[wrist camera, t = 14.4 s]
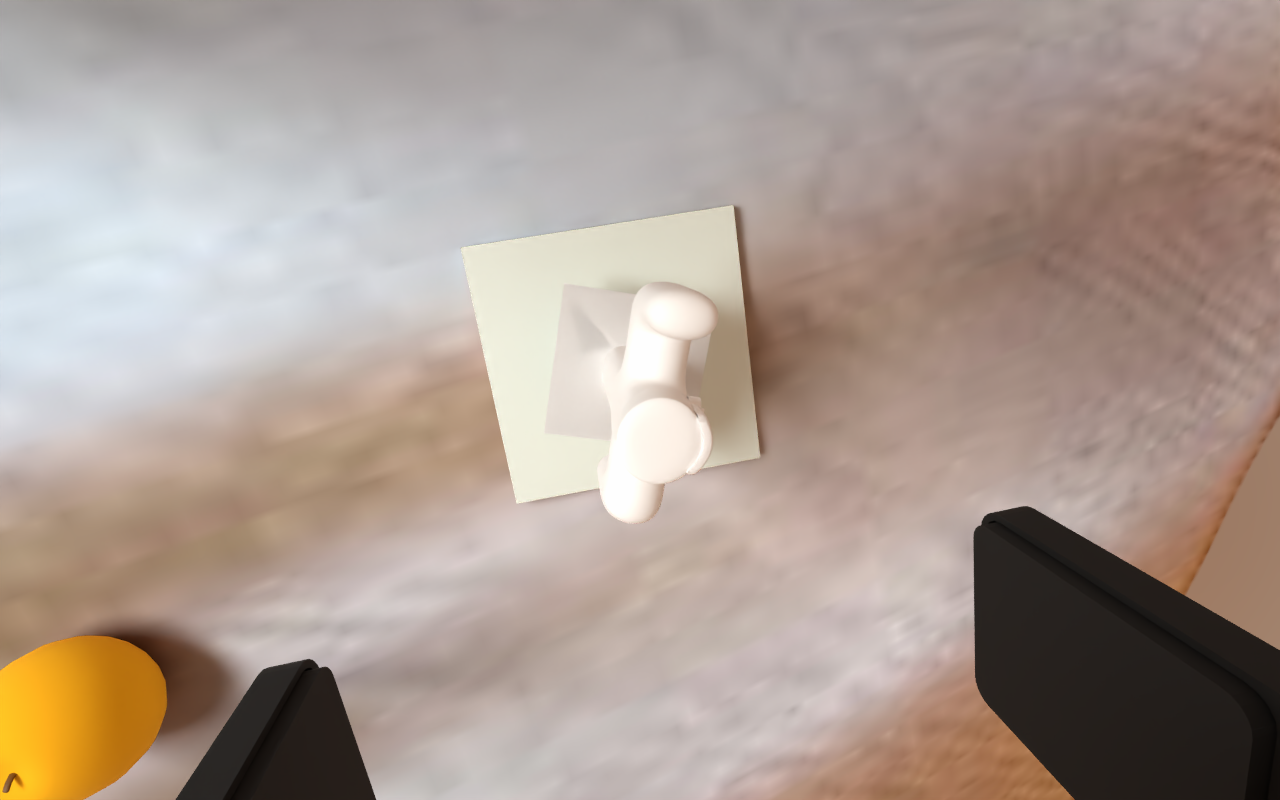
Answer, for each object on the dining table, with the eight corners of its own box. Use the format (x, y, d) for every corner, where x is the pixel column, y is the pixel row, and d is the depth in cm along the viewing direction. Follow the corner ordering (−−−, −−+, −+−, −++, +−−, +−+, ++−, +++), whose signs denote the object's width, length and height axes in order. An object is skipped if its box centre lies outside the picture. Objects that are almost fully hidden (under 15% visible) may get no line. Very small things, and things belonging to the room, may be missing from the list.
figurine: (542, 432, 34) (531, 573, 20) (566, 256, 32) (572, 272, 18) (672, 447, 36) (749, 591, 21) (703, 278, 33) (812, 310, 19)
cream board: (462, 247, 32) (460, 247, 32) (729, 205, 34) (733, 205, 33) (517, 497, 36) (516, 503, 35) (756, 453, 37) (760, 457, 36)
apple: (175, 606, 35) (77, 700, 28) (204, 725, 37) (119, 842, 30) (16, 619, 34) (-127, 721, 27) (54, 741, 36) (-70, 866, 29)
